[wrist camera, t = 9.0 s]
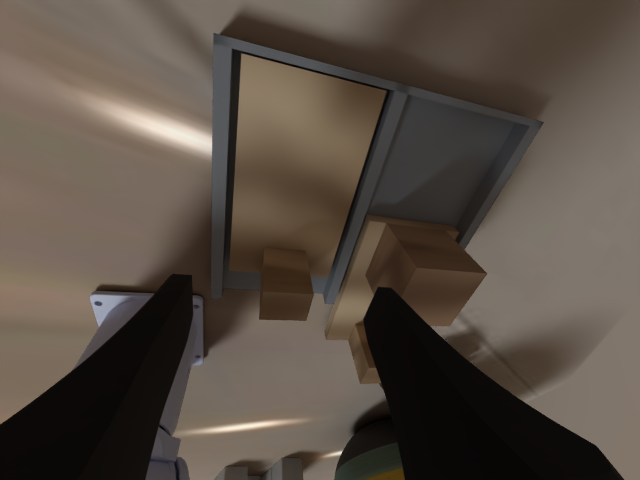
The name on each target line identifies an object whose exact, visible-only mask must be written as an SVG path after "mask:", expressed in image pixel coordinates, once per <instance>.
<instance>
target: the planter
mask: <svg viewBox="0 0 640 480" xmlns="http://www.w3.org/2000/svg"><path fill="white" fill-rule="evenodd" d="M334 480H405V477H404V472H403V467H402V462H401V457H400V452H399V448H398V443H397V438H396V434H395V430H394V426H393V421H392V419H386V420H381V421H377V422H374V423H372V424H369V425H367V426H366V427H364V428H362V429H361V430H359V431H358V432H357V433H356V434H355V435H354V436H353V437H352V438H351V439H350V441H349V442H348V443H347V445H346V447H345V448H344V450H343V452H342V454H341V456H340V459H339V461H338V464H337V468H336V472H335V479H334Z"/></svg>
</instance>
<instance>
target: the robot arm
mask: <svg viewBox="0 0 640 480" xmlns="http://www.w3.org/2000/svg"><path fill="white" fill-rule="evenodd" d="M90 301H91V304H92V307H93V310H94V313H95V316H96V320H97V323H98V326H99V328H98V330H97V332H96V333H95V335H94V336H93V338H92V340H91V341H90V343H89V345H88V346H87V348H86V349H85V351H84V353H83V354H82V356H81V358H80V359H79V361H78V362H77V364H76V366H75V367H74V369H73V370H72V371H71V372H70V373H69V374H67V375H66V376H65V377H64V378H62V379H61V380H60V381H59V382H57V383H56V384H55V385H53V386H52V387H51V388H49V389H48V390H47V391H45V392H44V393H43V394H42V395H40V396H39V397H38V398H36V399H35V400H34V401H32V402H31V403H30V404H28V405H27V406H26V407H24V408H23V409H21V410H20V411H19V412H17V413H16V414H14V415H13V416H12V417H10V418H9V419H7V420H6V421H5V422H3V423H2V424H0V480H190V478H189V472H188V468H187V464H186V462H185V460H184V459H182V458H181V457H177V454H178V450H179V446H180V441H181V440H180V439H179V438H175V437H172V435H173V433H174V431H175V429H176V426H177V423H178V419H179V415H180V411H181V407H182V403H183V399H184V395H185V390H186V386H187V382H188V378H189V374H190V370H191V366H192V365H201V364H203V361H204V332H203V298H202V297H201V296H197V295H193V293H192V275H179V274H172V275H171V276H170V277H169V278H168V279H167V280H166V281H165V282H164V284H163V285H162V286H161V287H160V288H159V289H158V290H157V291H156V293H132V292H110V291H94V292H93V293H92V294H91V295H90ZM99 301H100V302H99ZM197 305H198V306H197ZM363 322H364V328H365V333H366V338H367V342H368V346H369V349H370V352H371V355H372V358H373V361H374V364H375V367H376V369H377V372H378V375H379V378H380V381H381V384H382V387H383V390H384V393H385V396H386V399H387V402H388V406H389V409H390V413H391V417H392V421H393V426H394V430H395V434H396V438H397V443H398V448H399V452H400V457H401V462H402V467H403V472H404V477H405V480H624V479H623V478H622V476H621V475H620V474H619V473H618V472H617V470H616V469H615V468H614V467H613V465H612V464H611V463H610V462H609V460H608V459H607V458H606V457H605V456H604V454H603V453H602V452H601V451H600V450H599V448H598V447H597V446H596V445H594V444H592V443H591V442H589V441H587V440H585V439H584V438H582V437H580V436H579V435H577V434H575V433H573V432H571V431H570V430H568V429H566V428H565V427H563V426H561V425H560V424H558V423H556V422H554V421H553V420H551V419H549V418H548V417H546V416H545V415H543V414H542V413H540V412H539V411H537V410H535V409H534V408H532V407H531V406H529V405H528V404H526V403H525V402H523V401H522V400H520V399H519V398H517V397H516V396H514V395H513V394H511V393H510V392H509V391H507V390H506V389H504V388H503V387H502V386H500V385H499V384H497V383H496V382H495V381H493V380H492V379H491V378H489V377H488V376H487V375H485V374H484V373H483V372H481V371H480V370H479V369H478V368H476V367H475V366H474V365H473V364H471V363H470V362H469V361H468V360H467V359H465V358H464V357H463V356H462V355H461V354H459V353H458V352H457V351H456V350H455V349H454V348H453V347H452V346H450V345H449V344H448V343H447V342H446V341H445V340H444V339H443V338H442V337H441V336H439V335H438V334H437V333H436V332H435V331H434V330H433V329H432V328H431V327H430V326H429V325H428V324H427V323H426V322H425V321H424V320H423V319H422V318H421V317H420V316H419V315H418V314H417V313H416V312H415V311H414V310H413V309H412V308H411V307H410V306H409V305H408V304H407V303H406V302H405V301H404V300H403V299H402V298H401V297H400V296H399V295H398V294H397V293H396V292H395V291H394V290H393V289H392V288H390V287H378V288H377V290H376V292H375V294H374V296H373V299H372V301H371V303H370V305H369V307H368V310H367V312H366V314H365V316H364V318H363Z"/></svg>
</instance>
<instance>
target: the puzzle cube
mask: <svg viewBox="0 0 640 480" xmlns="http://www.w3.org/2000/svg"><path fill="white" fill-rule="evenodd" d="M214 480H303V470H302V458H281V459H280V460H279V461H278V462H277V463H275V464H274V465H273V466H272V467H271V468H270V469H269V470H268V471H267V472H266V473H265V474H263V476H248V467H228V466H227V467H225V468H224V469H223V470H222V471H221V472H220V473H219V474H218V476H216V478H215V479H214Z"/></svg>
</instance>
